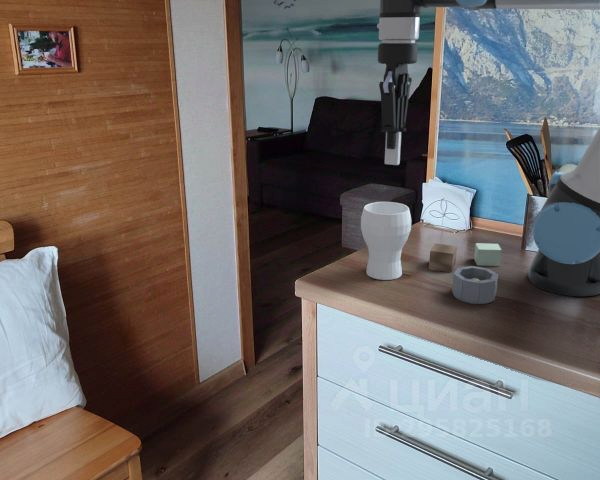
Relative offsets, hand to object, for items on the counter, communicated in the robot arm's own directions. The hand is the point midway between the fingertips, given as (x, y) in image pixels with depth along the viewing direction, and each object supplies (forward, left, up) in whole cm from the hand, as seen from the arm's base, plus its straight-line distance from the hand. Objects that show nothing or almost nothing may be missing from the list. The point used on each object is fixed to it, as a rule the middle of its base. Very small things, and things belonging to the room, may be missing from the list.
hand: (392, 163), depth 118 cm
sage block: (-18, -16, -25) cm, 35 cm away
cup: (+1, 0, -25) cm, 25 cm away
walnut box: (-10, -9, -25) cm, 28 cm away
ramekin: (-19, +3, -25) cm, 31 cm away
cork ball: (-19, +3, -23) cm, 30 cm away
